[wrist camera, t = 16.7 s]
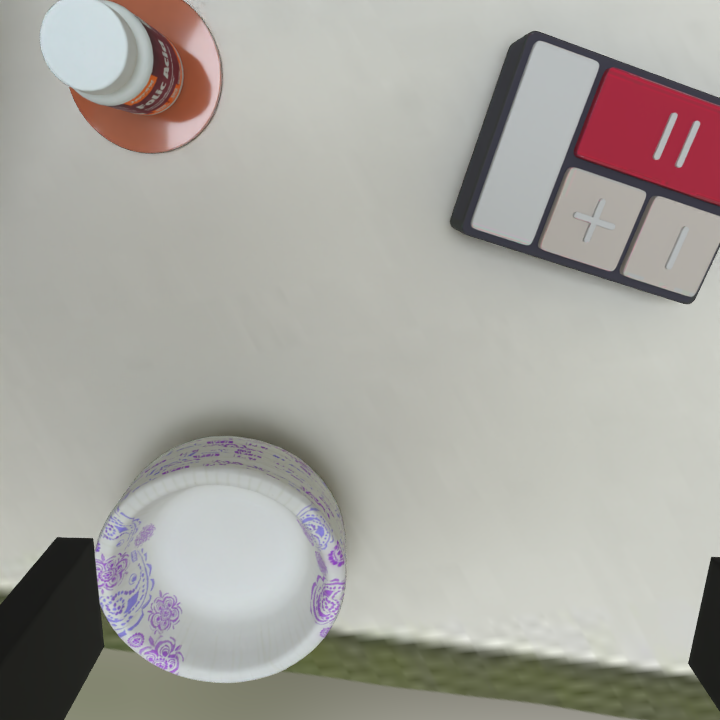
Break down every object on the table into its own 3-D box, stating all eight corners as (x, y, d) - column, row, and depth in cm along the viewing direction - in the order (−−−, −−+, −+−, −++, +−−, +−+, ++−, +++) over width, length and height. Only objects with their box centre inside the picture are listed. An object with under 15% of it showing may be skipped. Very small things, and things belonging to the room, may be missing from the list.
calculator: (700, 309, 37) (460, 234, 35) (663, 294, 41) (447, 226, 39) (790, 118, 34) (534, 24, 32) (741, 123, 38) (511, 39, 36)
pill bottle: (173, 128, 38) (121, 116, 30) (94, 97, 37) (20, 77, 29) (195, 45, 36) (148, 9, 28) (114, 13, 36) (42, -33, 28)
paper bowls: (386, 551, 46) (390, 626, 39) (210, 636, 48) (182, 723, 41) (277, 377, 42) (258, 423, 35) (92, 478, 45) (36, 541, 37)
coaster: (75, 150, 38) (72, 150, 38) (60, -17, 36) (57, -19, 35) (224, 155, 38) (223, 155, 38) (219, -12, 36) (218, -14, 35)
